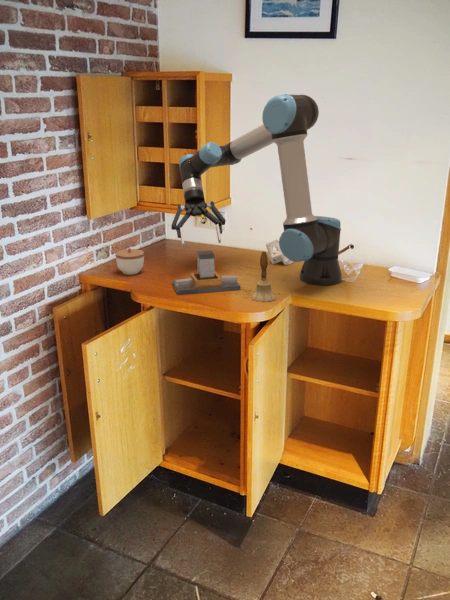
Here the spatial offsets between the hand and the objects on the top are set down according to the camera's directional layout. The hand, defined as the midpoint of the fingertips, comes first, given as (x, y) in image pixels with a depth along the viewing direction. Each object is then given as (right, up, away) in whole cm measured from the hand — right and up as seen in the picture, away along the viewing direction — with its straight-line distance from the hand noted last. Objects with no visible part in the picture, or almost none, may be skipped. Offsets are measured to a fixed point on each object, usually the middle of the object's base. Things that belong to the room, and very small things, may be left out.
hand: (201, 243), depth 206 cm
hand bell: (+21, -20, -18) cm, 34 cm away
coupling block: (+2, -15, -8) cm, 17 cm away
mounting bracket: (+32, -5, +23) cm, 40 cm away
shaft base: (+2, -16, -8) cm, 18 cm away
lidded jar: (-27, -10, +8) cm, 30 cm away
